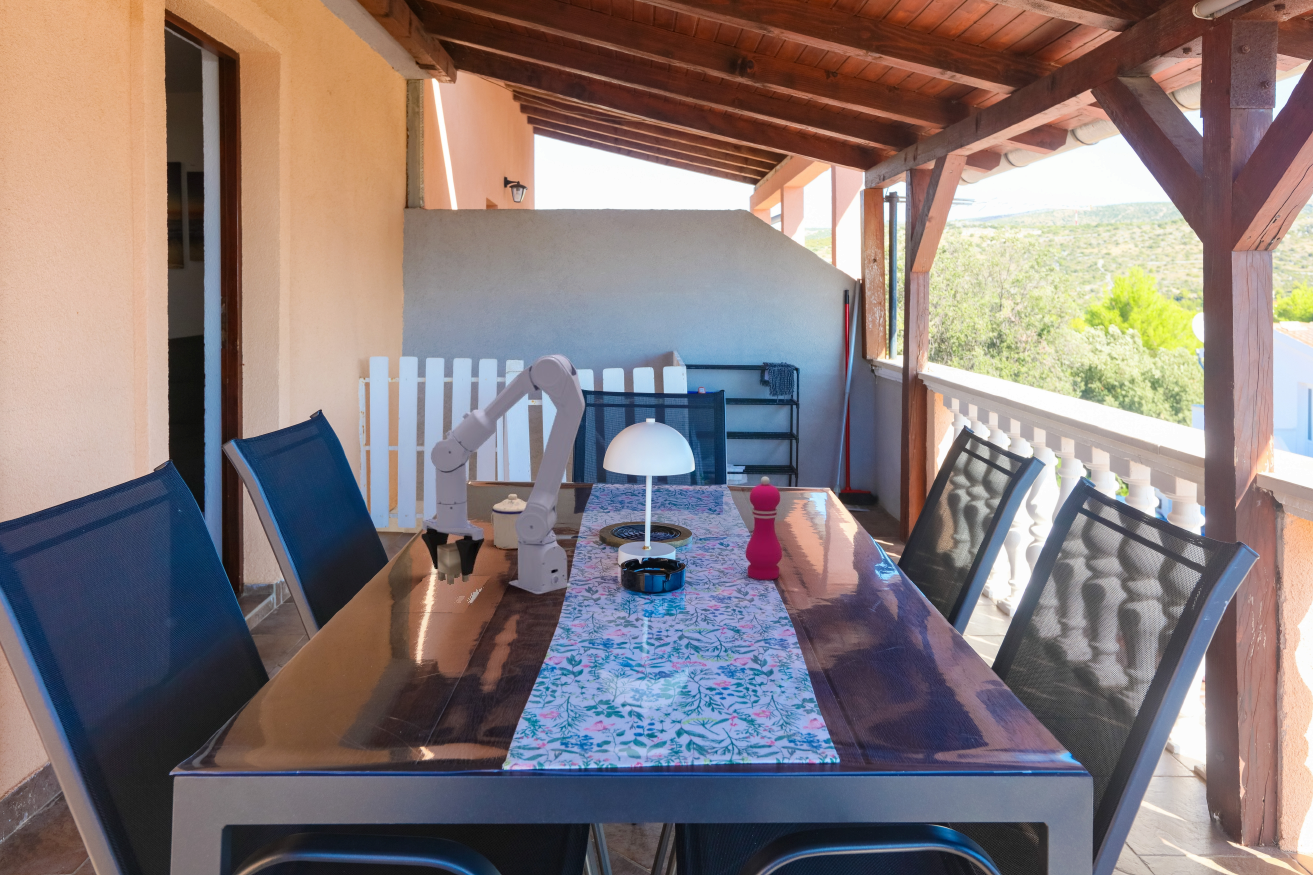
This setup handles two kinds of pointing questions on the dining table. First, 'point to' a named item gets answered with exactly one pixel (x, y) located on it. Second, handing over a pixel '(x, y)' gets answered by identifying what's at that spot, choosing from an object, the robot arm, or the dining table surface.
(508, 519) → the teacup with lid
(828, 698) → the dining table surface
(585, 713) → the dining table surface
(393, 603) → the dining table surface
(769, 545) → the pepper mill
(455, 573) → the beige notched block
